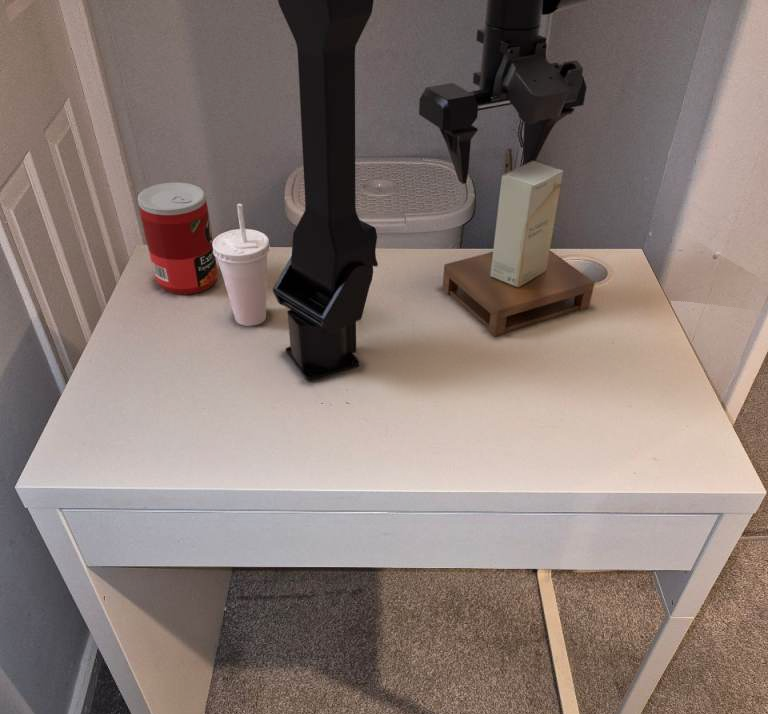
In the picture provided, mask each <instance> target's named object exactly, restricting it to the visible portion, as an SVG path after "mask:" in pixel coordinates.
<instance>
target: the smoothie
mask: <svg viewBox="0 0 768 714" xmlns="http://www.w3.org/2000/svg"><path fill="white" fill-rule="evenodd" d="M236 208H237V217H238V223H239V228H237V229H231V230H227V231H225V232H222V233H220V234H218V235H217V236H216V237H215V238H214V239H213V243H212V246H213V254H214V256H215V258H216V259H217V261H218V265H219V269H220V271H221V274H222V279H223V282H224V285H225V288H226V292H227V296H228V298H229V303H230V306H231V309H232V312H233V313H232V314H233V317H234V319H235V321H236V323H237V324H239V325H242V326H246V327H253V326H258V325H261V324H262V323H264V322H265V321H266V319H267V293H268V292H267V289H268V254H269V252H270V251H271V245H270V240H269V237H268V236H267V235H266V234H265V233H264V232H262V231H259V230H255V229H251V228H246V224H245V216H244V208H243V204H242V203H237V204H236Z"/></svg>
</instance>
